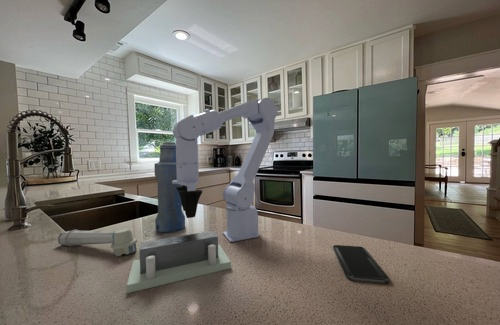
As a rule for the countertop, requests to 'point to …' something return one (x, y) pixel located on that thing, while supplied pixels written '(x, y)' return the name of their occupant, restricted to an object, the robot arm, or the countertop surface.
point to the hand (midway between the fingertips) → (188, 213)
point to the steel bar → (177, 250)
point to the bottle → (168, 191)
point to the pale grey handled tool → (101, 239)
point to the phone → (359, 265)
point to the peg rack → (175, 270)
